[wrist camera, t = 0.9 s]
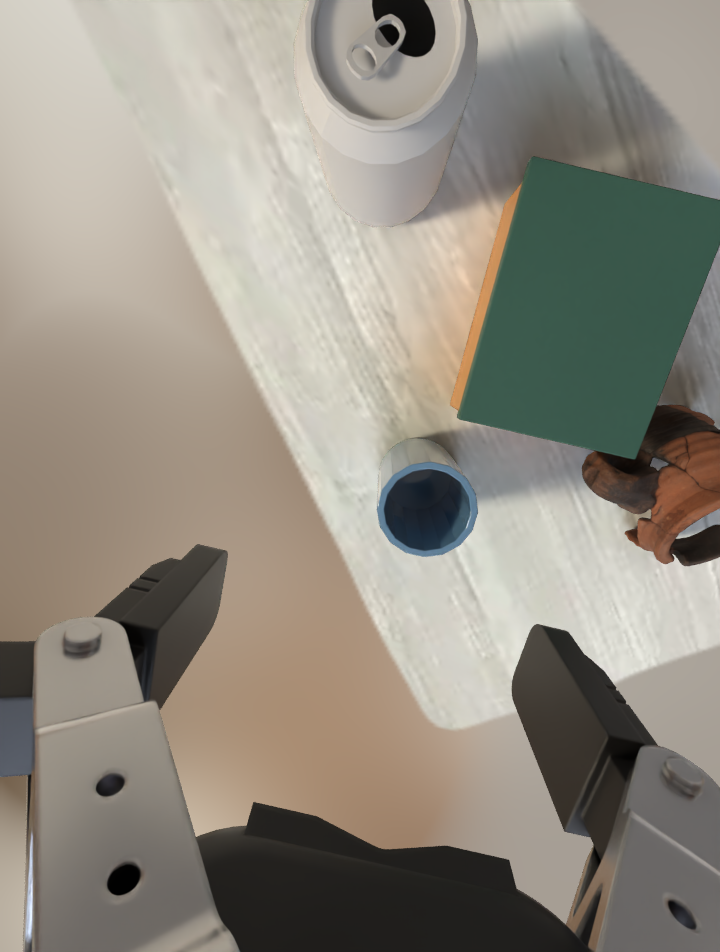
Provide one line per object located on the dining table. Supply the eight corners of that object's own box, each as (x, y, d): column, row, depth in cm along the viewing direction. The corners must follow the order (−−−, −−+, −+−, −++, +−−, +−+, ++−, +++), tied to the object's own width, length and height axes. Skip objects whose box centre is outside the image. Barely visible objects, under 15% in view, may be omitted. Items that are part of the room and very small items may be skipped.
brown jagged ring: (731, 397, 31) (841, 479, 25) (650, 494, 37) (722, 577, 31) (581, 385, 28) (665, 473, 22) (521, 492, 35) (574, 582, 29)
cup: (388, 430, 32) (390, 452, 25) (463, 447, 32) (489, 475, 25) (371, 502, 34) (367, 544, 26) (443, 518, 34) (461, 565, 26)
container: (501, 197, 28) (532, 155, 22) (664, 235, 28) (736, 203, 23) (444, 408, 32) (458, 419, 26) (589, 441, 32) (635, 460, 26)
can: (468, 164, 28) (530, 25, 16) (382, 257, 29) (382, 191, 18) (385, 64, 27) (388, -162, 15) (299, 166, 28) (243, 33, 17)
